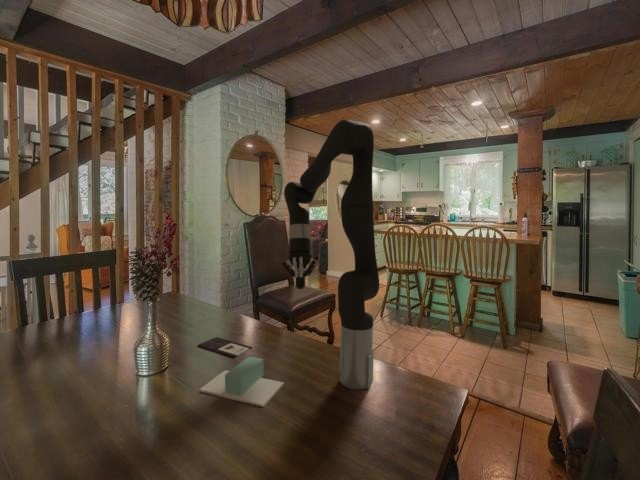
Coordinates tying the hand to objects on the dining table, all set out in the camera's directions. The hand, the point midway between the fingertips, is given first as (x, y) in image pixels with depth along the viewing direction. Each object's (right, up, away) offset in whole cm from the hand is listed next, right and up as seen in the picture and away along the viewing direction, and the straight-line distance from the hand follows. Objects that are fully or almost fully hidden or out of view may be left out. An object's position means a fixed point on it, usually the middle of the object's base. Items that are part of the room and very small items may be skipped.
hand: (300, 288), depth 111 cm
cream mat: (-15, -25, -19) cm, 35 cm away
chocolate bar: (-28, -23, +8) cm, 37 cm away
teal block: (-13, -21, -12) cm, 28 cm away
